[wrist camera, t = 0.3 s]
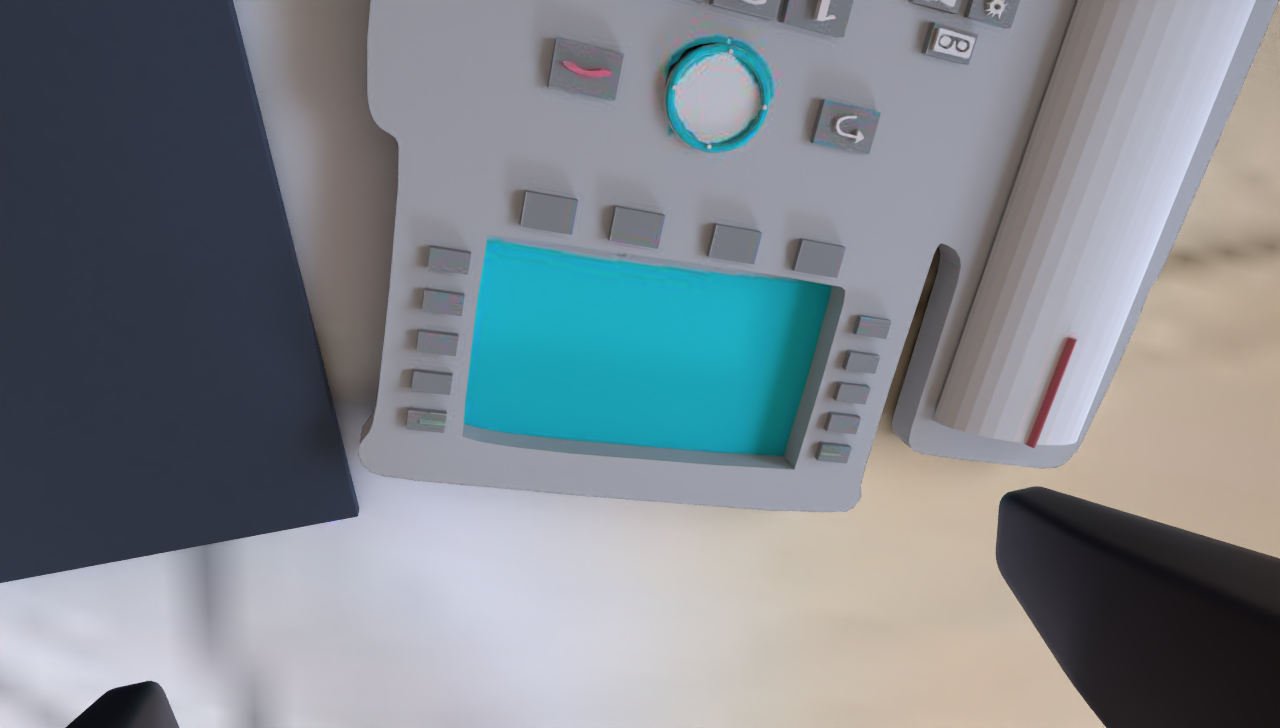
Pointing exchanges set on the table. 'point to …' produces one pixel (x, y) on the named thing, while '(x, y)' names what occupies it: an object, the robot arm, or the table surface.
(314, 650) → the table surface
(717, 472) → the office telephone
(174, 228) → the desk pad
